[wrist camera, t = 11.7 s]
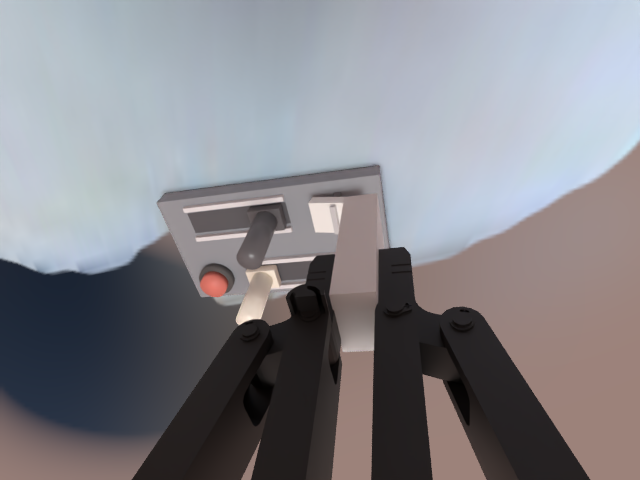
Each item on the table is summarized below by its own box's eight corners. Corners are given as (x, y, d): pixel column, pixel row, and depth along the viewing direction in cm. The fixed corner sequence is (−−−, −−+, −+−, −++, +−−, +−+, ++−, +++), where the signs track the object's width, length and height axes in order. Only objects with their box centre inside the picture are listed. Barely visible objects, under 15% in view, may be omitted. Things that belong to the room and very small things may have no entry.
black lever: (256, 228, 51) (236, 271, 44) (249, 207, 50) (227, 249, 42) (286, 224, 50) (271, 269, 43) (280, 203, 49) (263, 246, 42)
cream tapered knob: (254, 283, 57) (235, 330, 49) (247, 267, 55) (228, 313, 48) (281, 281, 56) (266, 329, 49) (275, 264, 54) (259, 311, 47)
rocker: (319, 225, 49) (313, 235, 48) (312, 197, 47) (306, 205, 46) (366, 226, 47) (362, 236, 46) (362, 196, 45) (357, 205, 43)
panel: (206, 285, 62) (195, 307, 58) (165, 193, 53) (148, 211, 49) (392, 272, 56) (393, 295, 52) (379, 165, 47) (379, 183, 44)
